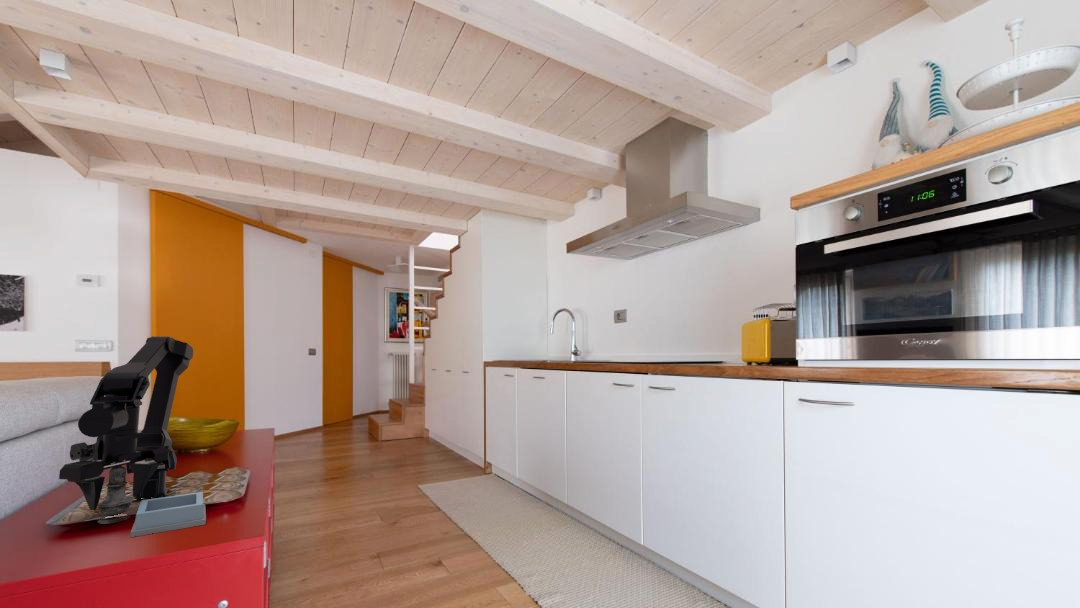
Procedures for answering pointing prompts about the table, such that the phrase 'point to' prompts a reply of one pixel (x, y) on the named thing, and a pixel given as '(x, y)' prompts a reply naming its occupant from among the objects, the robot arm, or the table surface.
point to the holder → (169, 514)
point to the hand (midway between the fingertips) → (115, 503)
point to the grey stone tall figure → (115, 496)
